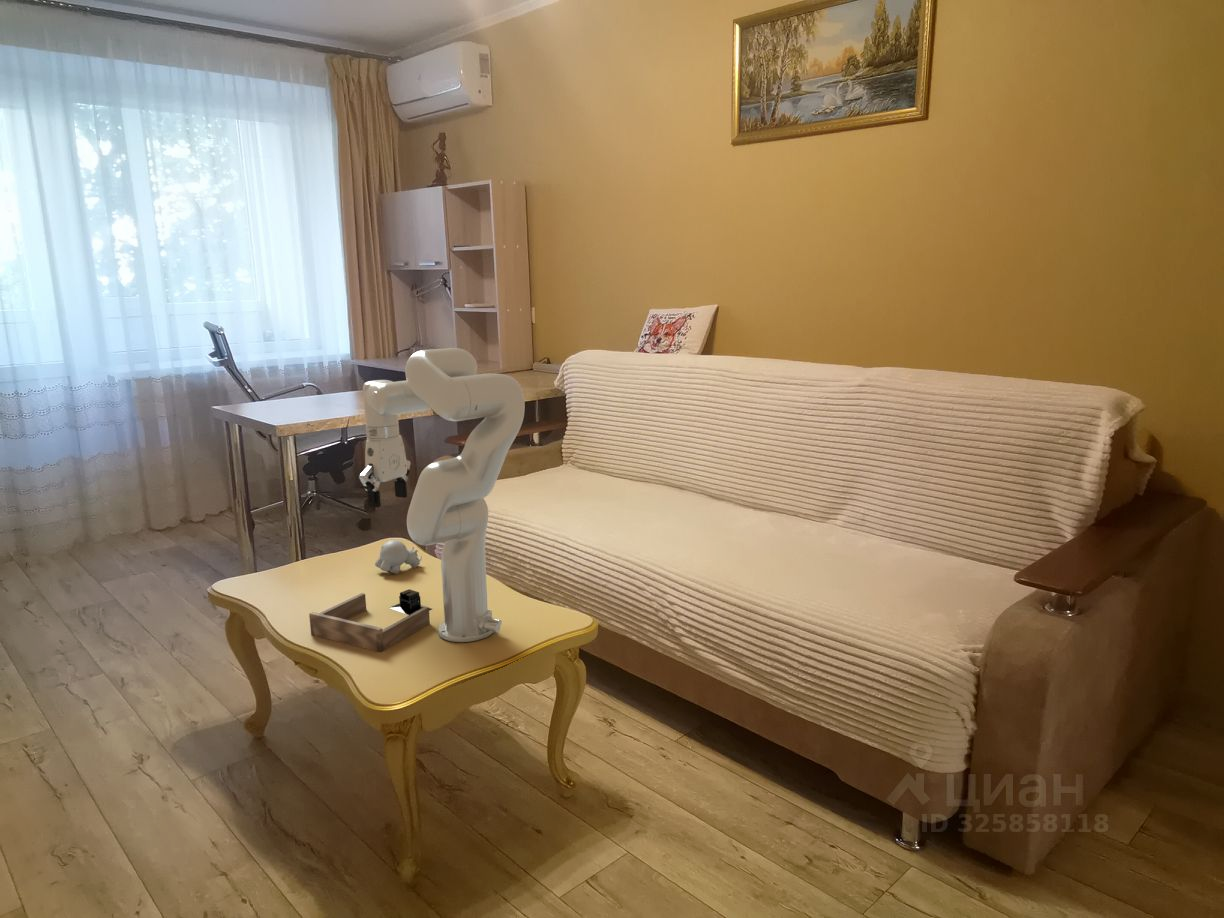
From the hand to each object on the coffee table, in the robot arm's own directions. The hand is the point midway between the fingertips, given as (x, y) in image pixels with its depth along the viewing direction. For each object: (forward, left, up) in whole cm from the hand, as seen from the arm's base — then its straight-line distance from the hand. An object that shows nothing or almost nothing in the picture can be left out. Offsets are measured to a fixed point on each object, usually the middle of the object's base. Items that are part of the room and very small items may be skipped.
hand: (388, 501), depth 195 cm
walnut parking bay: (-9, +18, -24) cm, 31 cm away
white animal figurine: (+11, -14, -24) cm, 30 cm away
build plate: (-9, +5, -25) cm, 27 cm away
